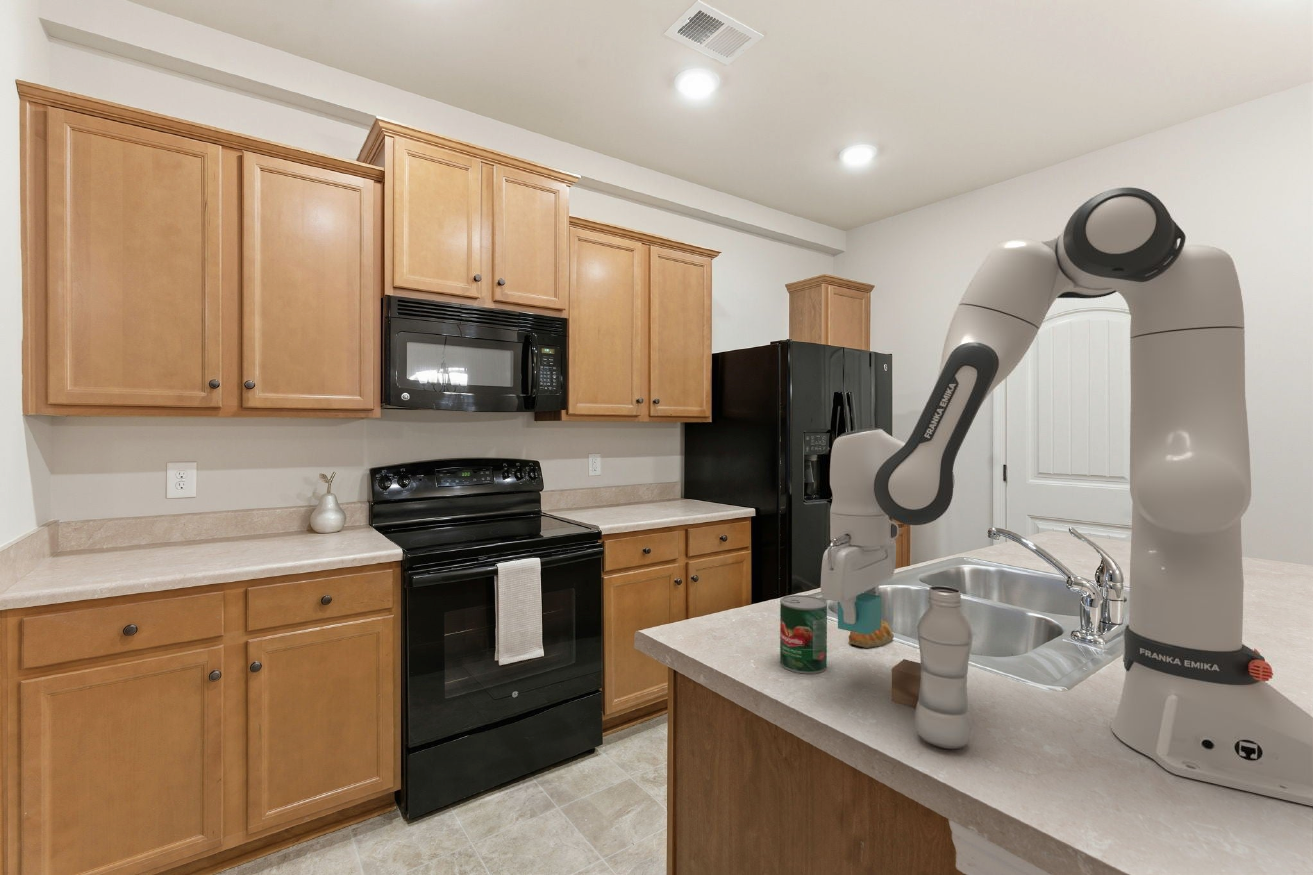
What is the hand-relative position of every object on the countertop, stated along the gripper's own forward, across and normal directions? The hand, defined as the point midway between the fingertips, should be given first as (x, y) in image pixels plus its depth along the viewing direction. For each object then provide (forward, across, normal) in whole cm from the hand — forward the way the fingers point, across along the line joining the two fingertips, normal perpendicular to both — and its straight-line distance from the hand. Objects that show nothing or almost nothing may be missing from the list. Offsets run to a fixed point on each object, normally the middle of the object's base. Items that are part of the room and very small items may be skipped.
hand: (859, 617), depth 97 cm
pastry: (+11, +20, +7) cm, 24 cm away
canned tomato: (+11, +1, +11) cm, 15 cm away
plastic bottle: (+11, -10, -15) cm, 22 cm away
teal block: (+2, 0, 0) cm, 2 cm away
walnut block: (+11, 0, -8) cm, 14 cm away
